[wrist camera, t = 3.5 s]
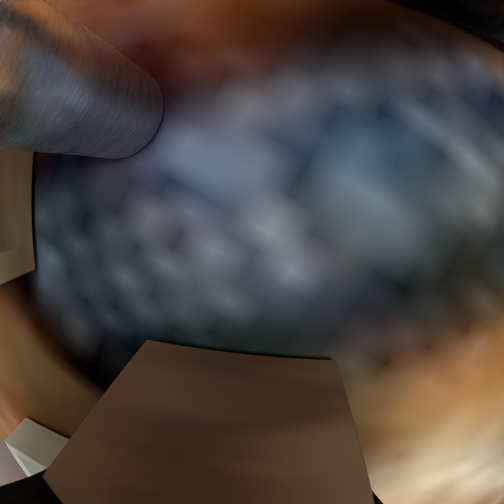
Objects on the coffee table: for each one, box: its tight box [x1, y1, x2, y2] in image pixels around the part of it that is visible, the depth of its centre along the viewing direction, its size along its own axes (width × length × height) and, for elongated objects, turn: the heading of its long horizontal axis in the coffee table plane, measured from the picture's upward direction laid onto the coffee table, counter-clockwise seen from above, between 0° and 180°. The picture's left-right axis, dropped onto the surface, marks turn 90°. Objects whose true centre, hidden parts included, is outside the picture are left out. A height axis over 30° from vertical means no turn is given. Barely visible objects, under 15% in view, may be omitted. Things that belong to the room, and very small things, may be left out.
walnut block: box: [42, 340, 375, 504], centre depth 6 cm, size 6×6×6 cm
